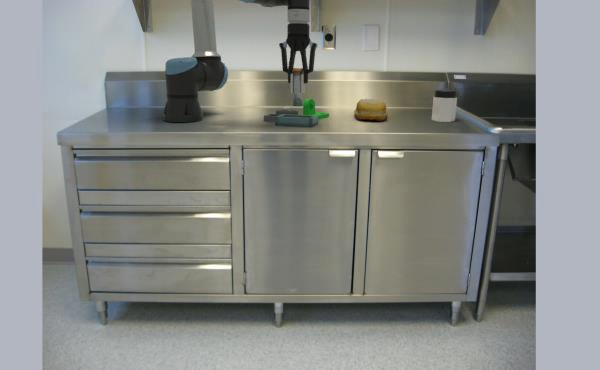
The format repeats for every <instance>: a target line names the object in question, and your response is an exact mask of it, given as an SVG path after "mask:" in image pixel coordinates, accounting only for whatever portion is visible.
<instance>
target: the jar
mask: <svg viewBox="0 0 600 370" xmlns="http://www.w3.org/2000/svg"><path fill="white" fill-rule="evenodd" d="M457 92H458V91H457V90H452V89H435V90H434V96H433V99H432V109H431V111H432V112H431V120H432V121H434V122H441V123H443V122H445V123H450V122H455V121H456V114H457V104H458V97H457V94H458V93H457Z"/></svg>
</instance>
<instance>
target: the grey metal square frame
mask: <svg viewBox="0 0 600 370" xmlns="http://www.w3.org/2000/svg"><path fill="white" fill-rule="evenodd" d="M279 115H282V114H276V113H268V114H265V115H263V122H274V123H275V117H276V116H279Z"/></svg>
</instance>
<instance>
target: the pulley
mask: <svg viewBox="0 0 600 370" xmlns="http://www.w3.org/2000/svg"><path fill="white" fill-rule="evenodd" d="M291 108H292V107H291V106H289V105H288V106H287V105H286V106H283V108H282V109H279V110H275V114H291V115H299V111H298V110H296V109H295V110H293V109H291Z"/></svg>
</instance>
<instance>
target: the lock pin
mask: <svg viewBox="0 0 600 370" xmlns="http://www.w3.org/2000/svg"><path fill="white" fill-rule="evenodd" d="M292 71H293V73H292V74H293V93H292V106H293V107H303V104H304V101H303V97H304V96H303V95H304V93H301V74H303V67H298V68H297V67H296V68H295V67H293V68H292Z"/></svg>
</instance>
